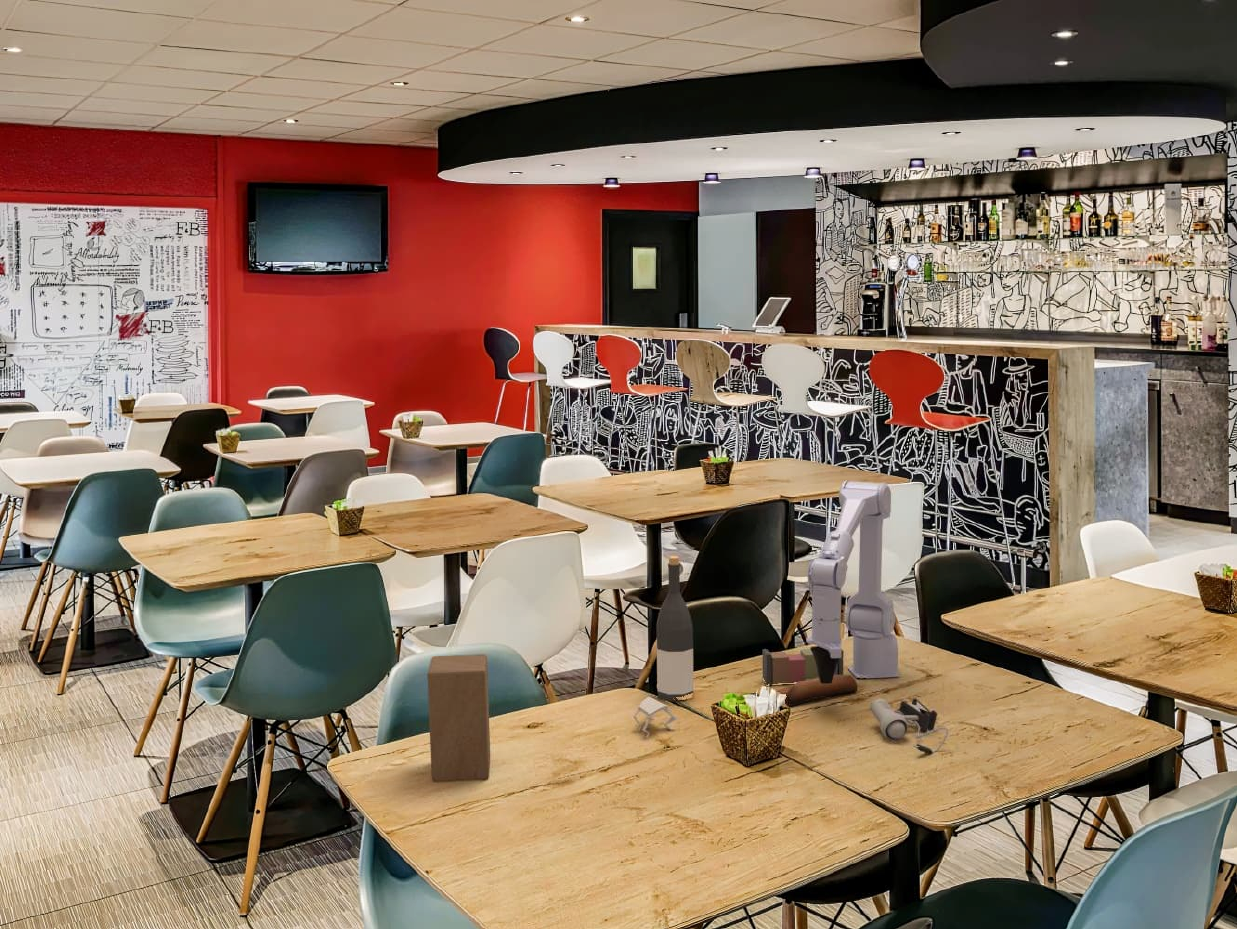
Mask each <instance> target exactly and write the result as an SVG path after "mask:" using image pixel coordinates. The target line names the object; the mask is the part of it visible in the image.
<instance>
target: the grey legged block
mask: <svg viewBox="0 0 1237 929" xmlns="http://www.w3.org/2000/svg"><path fill="white" fill-rule="evenodd" d="M661 711H664V712H665V713H667V714H668V715H669V716H670V718H669V719H668V720H666V721H665V722H664V723H662V726H664V727H665V728H667V729H668V730H670V731H673V728H671V727H670V726H667V725H669V724H671V723H672V722H674V721H677V720H678V719H679V718H678V717H677V715H675V714H674V713H673V712H672V711H671V710H669V705H667V704H664V703H662V702H661V701H658V700H657V699H655V698H653V697H651V696H647V697H646V698H644V699H643V700H642V701H641V703H640V704H639V706H637V710H636V712H635V713H634V714H633V715H632V716H633V718H634V720H635V721H636V723H637V724H638V726H639V727H638V730H637V731H638V732H641V731H642V732H645V733H647V734H646V736H645V739H649V736H650V734H651V733H650V732H649V731H647V730H646V729H647V727H648V726H649V722H650V719H651V720H653V721H654V720H655V719H654V718H653V717H652V716H654V715H655V714H657V713H658V712H661ZM639 712H641V713H643V714H644V715H646V716H647V719H646V721H645V724H644V726H643V728H642V725H641V724H640V722H639V720H638V718H637V716H638V714H639Z"/></svg>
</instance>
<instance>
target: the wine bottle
mask: <svg viewBox="0 0 1237 929" xmlns="http://www.w3.org/2000/svg"><path fill="white" fill-rule="evenodd" d="M679 559H680V558H679V556H675V555H671V556H669V557H668V563H667V567H668V568H667V569H668V572H667V573H668V592H667V595H666V597H665V599H664V601H663V602H662V605H661V606H660V609H659V612H658V616H657V620H656V676H657V678H656V682H657V684H656V685H657V697H658V699H660V700H663V701H667V702H677V701H676V700H678V699H677V698H676V697H682V696H683V697H684V696H685V695H688V694H691V693H693V694H694V634H693V633H694V628H693V627H694V626H693V622H692V618H691V614H690V611H689V608H688V605H687V604H686V601H685V600H684V598H683V597H682V594H681V590H680V589H681V586H680V585H681V584H680V582H681V581H680V578H681V577H680V576H681V575H680V572H681V571H680V568H681V564H680V562H679ZM673 698H674V699H675V700H674V699H673Z"/></svg>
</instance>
